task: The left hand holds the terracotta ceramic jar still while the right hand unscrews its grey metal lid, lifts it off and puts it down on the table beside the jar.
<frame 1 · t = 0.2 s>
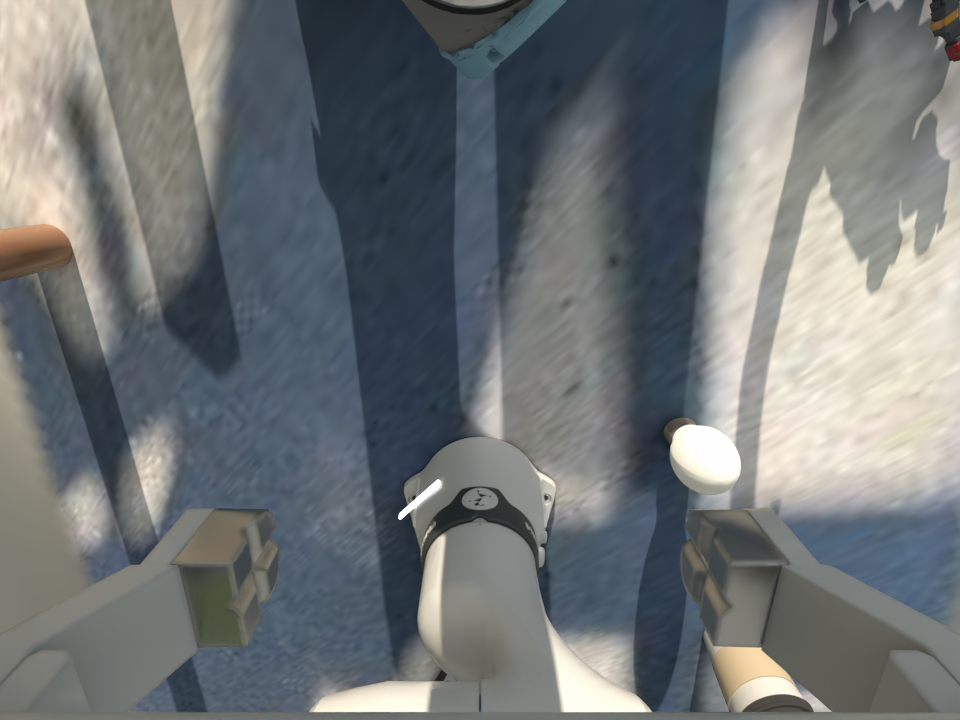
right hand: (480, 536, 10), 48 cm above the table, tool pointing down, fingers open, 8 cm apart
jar: (49, 246, 56), on the table
coffee cup: (727, 632, 74), on the table
light bulb: (681, 429, 63), on the table
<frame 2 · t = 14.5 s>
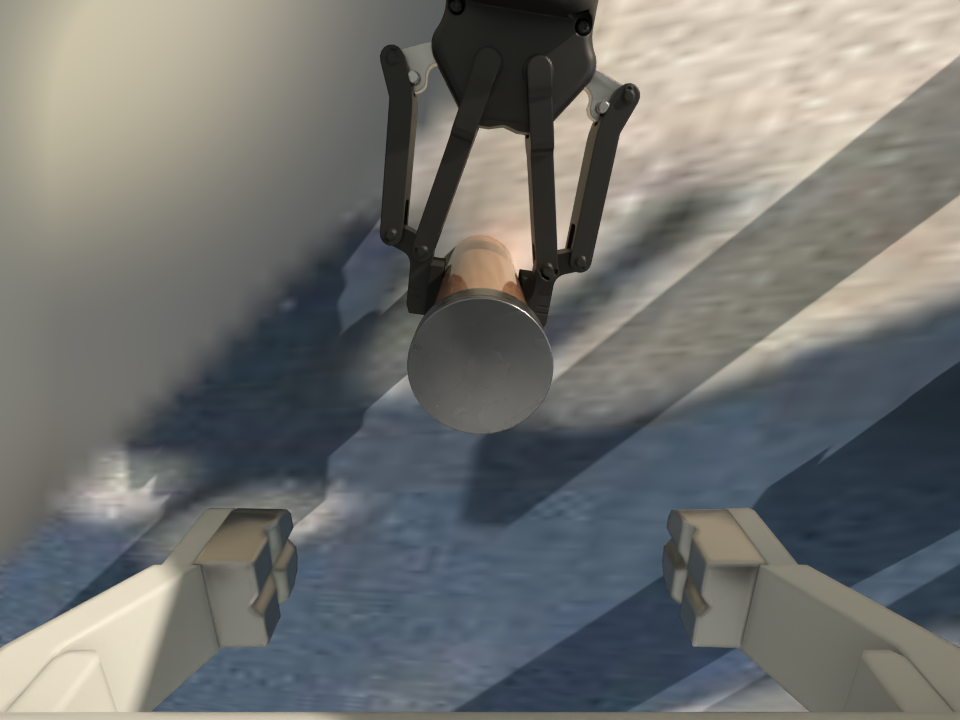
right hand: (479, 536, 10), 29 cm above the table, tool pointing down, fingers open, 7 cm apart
left hand: (468, 368, 33), fingers closed on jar, 5 cm apart
lid: (480, 365, 19), point 19 cm above the table, screwed on, not yet turned
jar: (480, 268, 37), on the table, touching left hand
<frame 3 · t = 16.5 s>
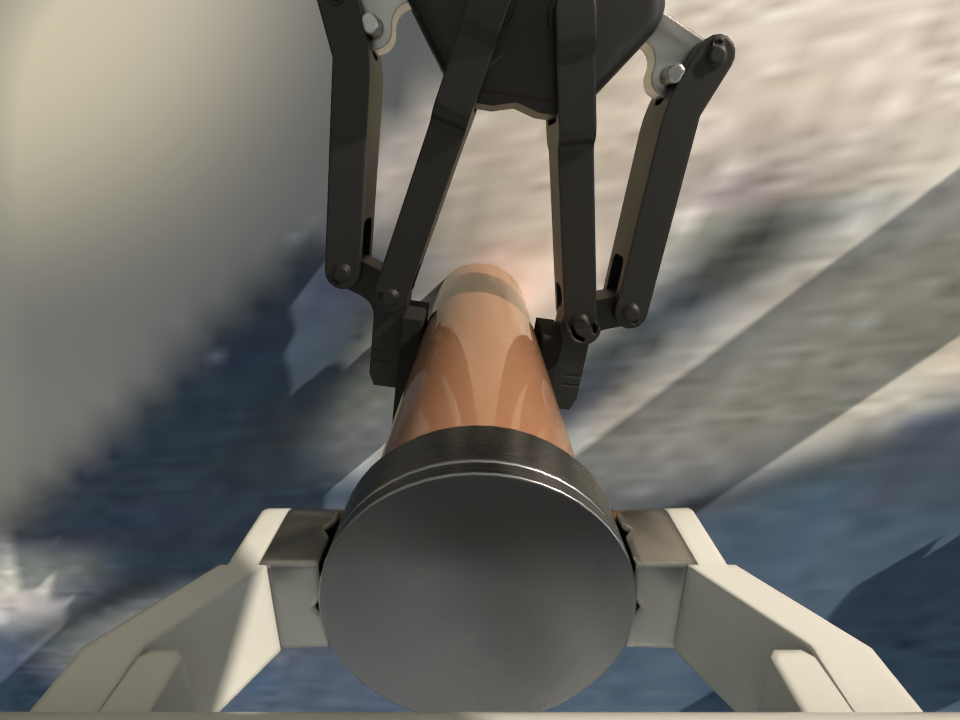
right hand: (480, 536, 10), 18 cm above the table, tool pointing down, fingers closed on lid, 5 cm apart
left hand: (462, 459, 23), fingers closed on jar, 5 cm apart
lid: (477, 594, 9), point 19 cm above the table, screwed on, not yet turned, touching right hand
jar: (479, 308, 27), on the table, touching left hand
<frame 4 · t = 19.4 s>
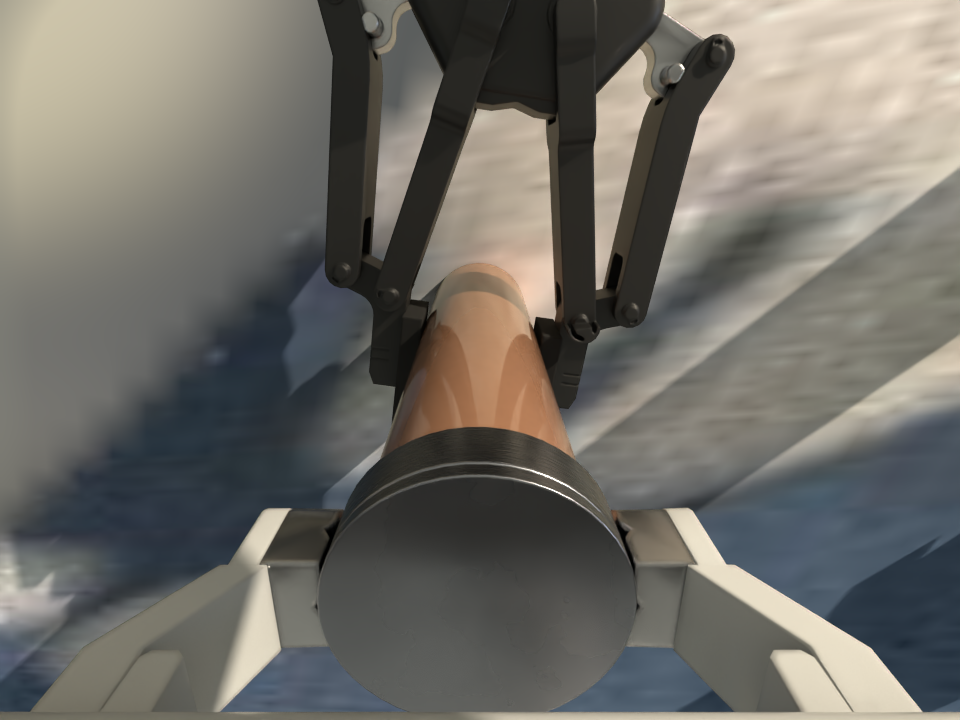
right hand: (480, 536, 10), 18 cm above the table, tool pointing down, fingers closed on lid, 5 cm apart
left hand: (461, 458, 23), fingers closed on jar, 5 cm apart
lid: (477, 596, 9), point 19 cm above the table, turned 63° so far, risen 0.1 cm, still on its thread, touching right hand
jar: (478, 307, 27), on the table, touching left hand
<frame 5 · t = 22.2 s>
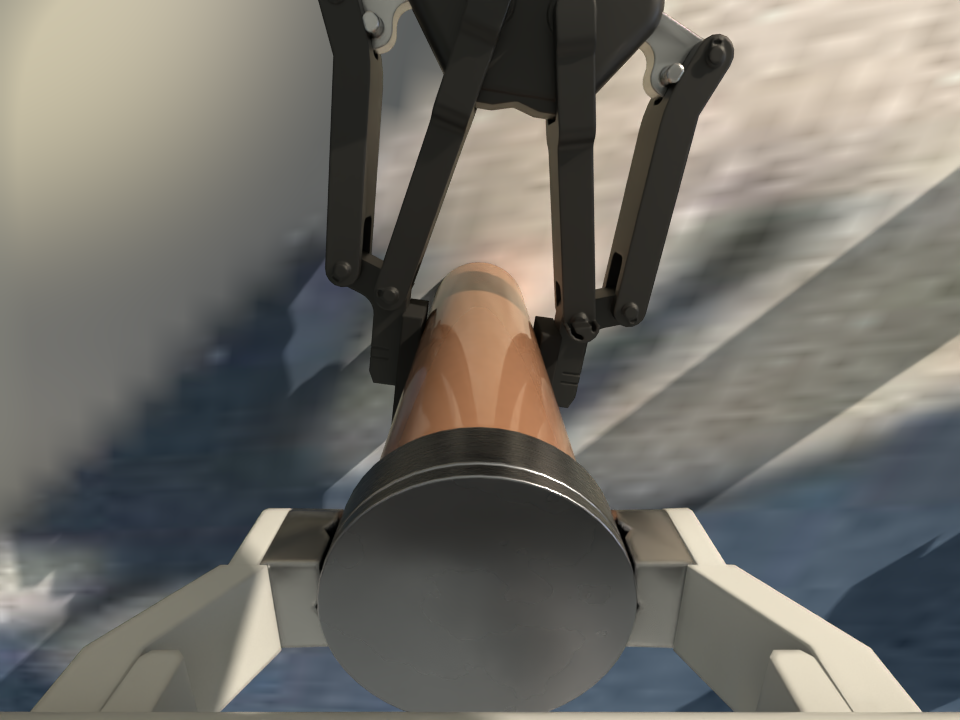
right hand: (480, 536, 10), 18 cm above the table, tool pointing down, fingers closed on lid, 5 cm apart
left hand: (461, 457, 23), fingers closed on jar, 5 cm apart
lid: (477, 597, 9), point 19 cm above the table, turned 126° so far, risen 0.1 cm, still on its thread, touching right hand
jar: (478, 306, 27), on the table, touching left hand
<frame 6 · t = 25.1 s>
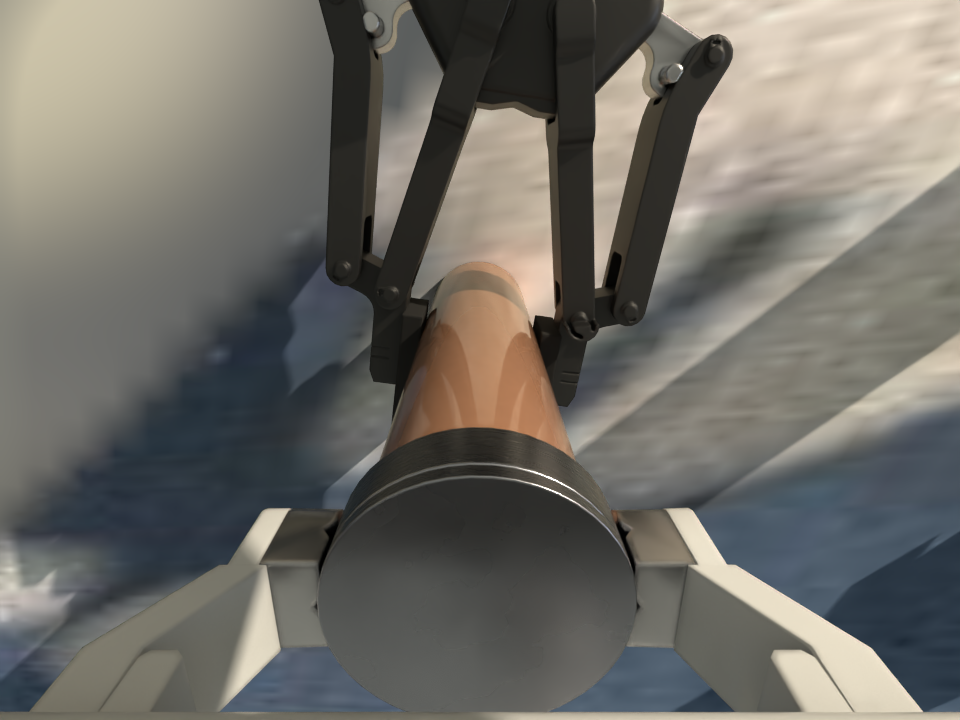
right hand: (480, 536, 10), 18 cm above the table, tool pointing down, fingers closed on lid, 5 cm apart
left hand: (461, 456, 23), fingers closed on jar, 5 cm apart
lid: (477, 597, 9), point 19 cm above the table, turned 189° so far, risen 0.2 cm, still on its thread, touching right hand
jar: (478, 306, 27), on the table, touching left hand
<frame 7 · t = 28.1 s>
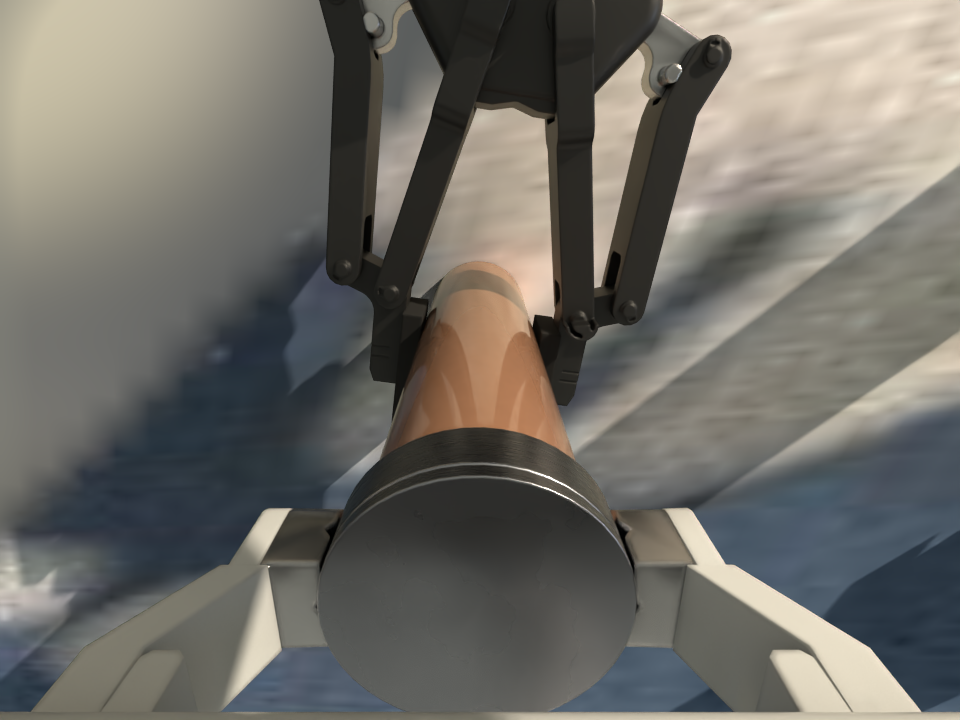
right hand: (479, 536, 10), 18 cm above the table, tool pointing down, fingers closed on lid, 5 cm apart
left hand: (461, 454, 23), fingers closed on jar, 5 cm apart
lid: (477, 597, 9), point 20 cm above the table, turned 252° so far, risen 0.3 cm, still on its thread, touching right hand
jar: (478, 305, 27), on the table, touching left hand
when the right hand's fingers open (2 cm above the table, at t = 37.1 s): lid drops 2 cm, point 1 cm above the table.
when the left hand's fingers open (6 cm above the table, at t = 38.0 s): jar stays where it is, on the table.
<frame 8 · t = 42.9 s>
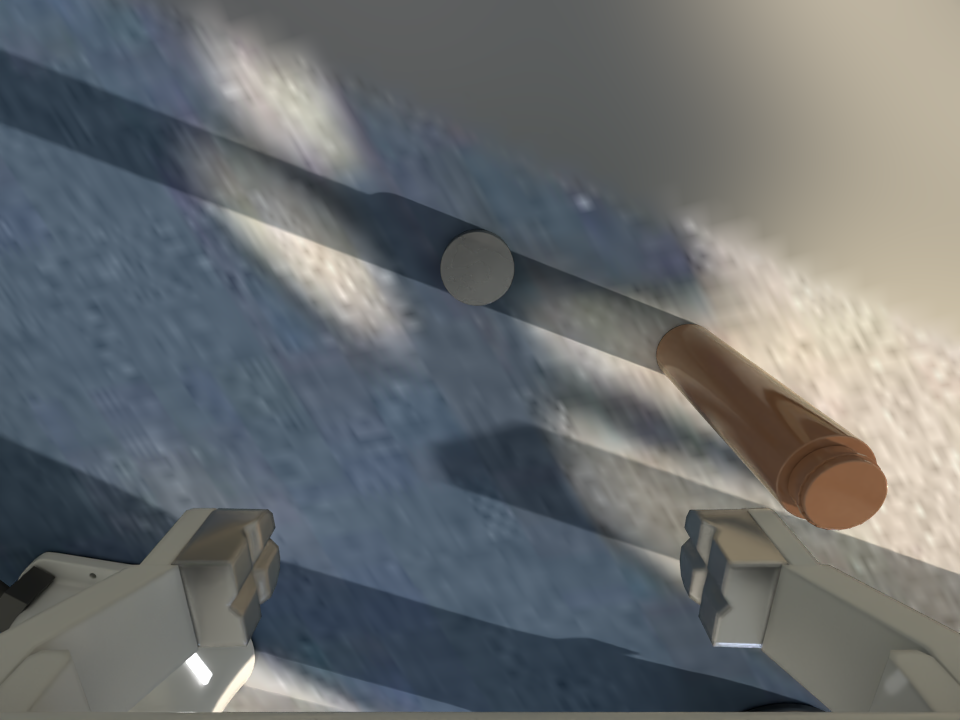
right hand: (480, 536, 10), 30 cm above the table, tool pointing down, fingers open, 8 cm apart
lid: (477, 268, 38), point 1 cm above the table, off its thread
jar: (685, 352, 41), on the table
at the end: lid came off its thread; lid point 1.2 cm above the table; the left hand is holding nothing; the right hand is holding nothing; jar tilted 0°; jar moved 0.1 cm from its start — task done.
